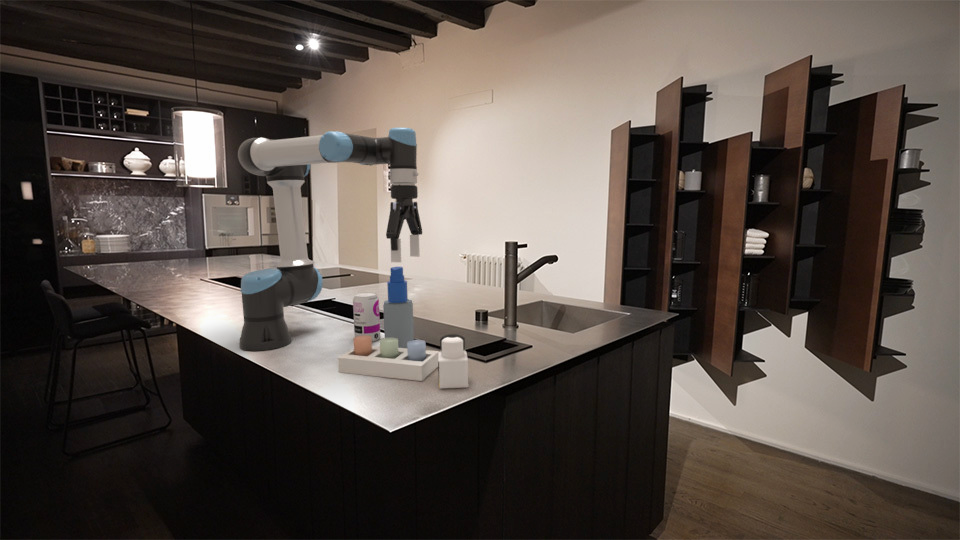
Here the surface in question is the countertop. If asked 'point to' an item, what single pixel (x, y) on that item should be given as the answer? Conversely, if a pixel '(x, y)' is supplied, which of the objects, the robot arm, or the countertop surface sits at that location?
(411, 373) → the panel
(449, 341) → the medicine bottle
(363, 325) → the supplement can
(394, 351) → the button sage
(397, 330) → the spray bottle
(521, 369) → the countertop surface
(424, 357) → the button blue
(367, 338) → the button terracotta
